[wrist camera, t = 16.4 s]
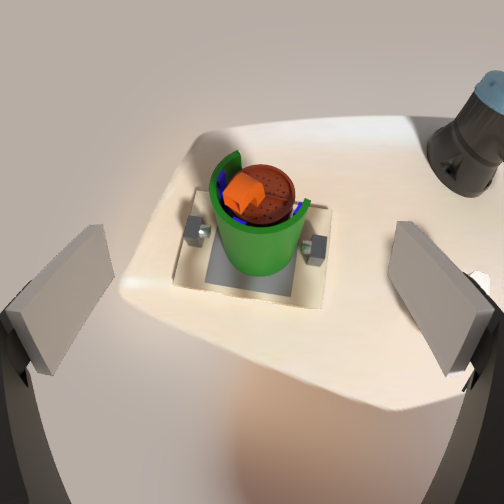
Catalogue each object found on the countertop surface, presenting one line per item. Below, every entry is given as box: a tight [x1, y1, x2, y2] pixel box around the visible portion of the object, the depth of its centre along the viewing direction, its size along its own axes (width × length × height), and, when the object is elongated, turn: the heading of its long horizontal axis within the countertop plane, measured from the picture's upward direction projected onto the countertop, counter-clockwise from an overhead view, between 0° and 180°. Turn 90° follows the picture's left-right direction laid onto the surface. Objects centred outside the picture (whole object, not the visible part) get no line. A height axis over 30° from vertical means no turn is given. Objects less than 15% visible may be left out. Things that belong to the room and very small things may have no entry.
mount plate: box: [173, 190, 332, 310], centre depth 46 cm, size 21×15×1 cm
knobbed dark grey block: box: [183, 215, 211, 248], centre depth 45 cm, size 3×3×4 cm
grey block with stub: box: [301, 234, 327, 267], centre depth 43 cm, size 3×3×4 cm
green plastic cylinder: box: [209, 150, 311, 277], centre depth 36 cm, size 10×9×20 cm
